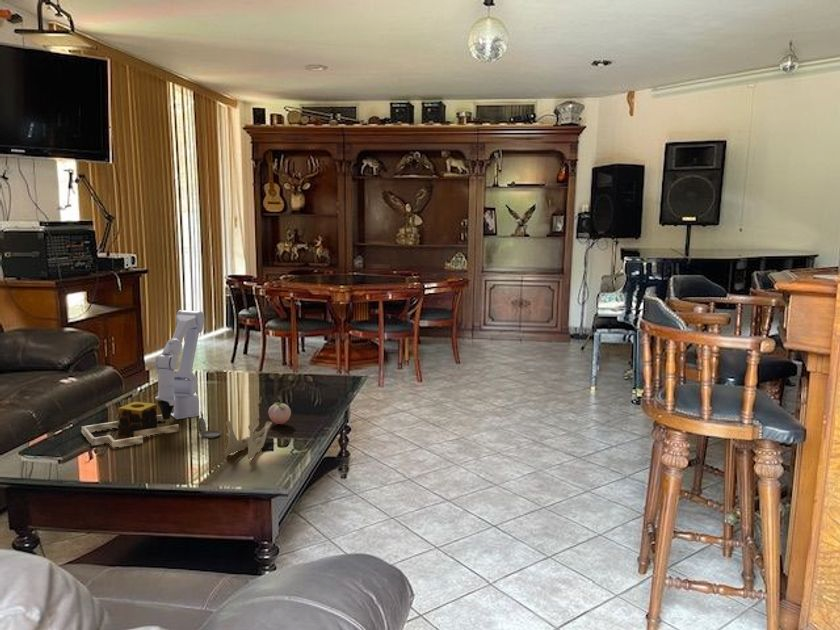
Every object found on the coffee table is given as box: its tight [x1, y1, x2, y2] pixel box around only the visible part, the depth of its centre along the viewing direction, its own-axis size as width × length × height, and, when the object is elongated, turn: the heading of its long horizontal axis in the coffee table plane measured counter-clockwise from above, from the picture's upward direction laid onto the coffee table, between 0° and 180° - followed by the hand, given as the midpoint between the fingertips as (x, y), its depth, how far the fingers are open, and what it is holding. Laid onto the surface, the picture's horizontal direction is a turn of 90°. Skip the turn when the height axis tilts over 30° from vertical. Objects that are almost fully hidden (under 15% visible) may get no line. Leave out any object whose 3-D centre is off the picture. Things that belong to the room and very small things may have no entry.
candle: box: [117, 401, 158, 436], centre depth 230 cm, size 10×10×10 cm
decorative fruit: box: [267, 401, 292, 425], centre depth 246 cm, size 9×8×10 cm
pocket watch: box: [197, 411, 221, 439], centre depth 229 cm, size 8×8×10 cm
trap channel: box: [81, 414, 180, 449], centre depth 229 cm, size 30×29×2 cm
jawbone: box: [224, 420, 273, 460], centre depth 219 cm, size 25×10×14 cm, turn 167°
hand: (166, 418), depth 237 cm, fingers closed
